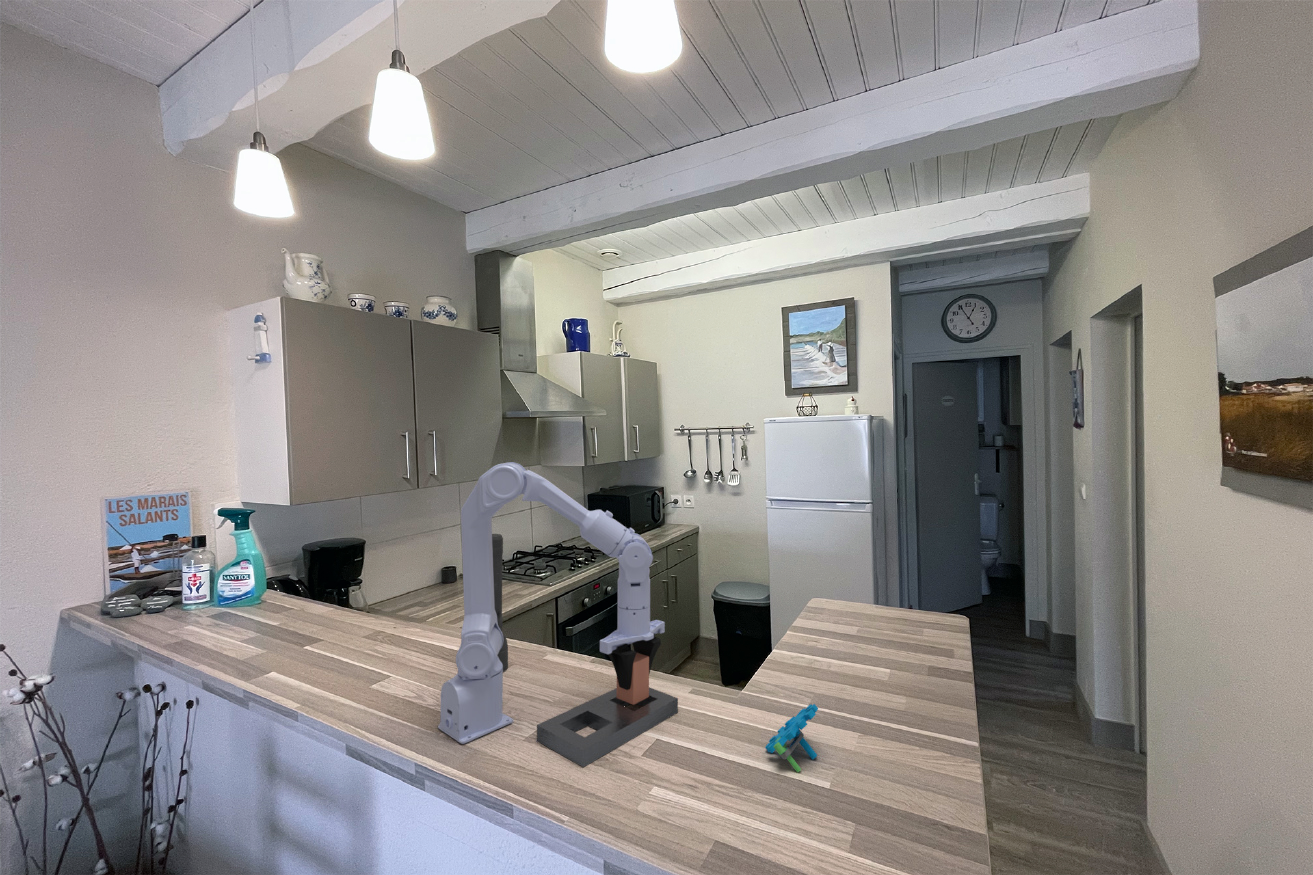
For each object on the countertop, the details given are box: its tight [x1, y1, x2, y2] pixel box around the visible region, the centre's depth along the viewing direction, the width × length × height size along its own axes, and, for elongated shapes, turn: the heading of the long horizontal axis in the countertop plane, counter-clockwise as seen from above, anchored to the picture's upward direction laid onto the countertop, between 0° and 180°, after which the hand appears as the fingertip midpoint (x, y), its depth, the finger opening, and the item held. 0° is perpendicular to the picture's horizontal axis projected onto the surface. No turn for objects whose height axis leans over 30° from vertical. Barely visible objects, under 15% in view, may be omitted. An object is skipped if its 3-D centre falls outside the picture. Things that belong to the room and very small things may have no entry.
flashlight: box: [492, 533, 509, 673], centre depth 115 cm, size 7×28×7 cm
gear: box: [764, 703, 819, 773], centre depth 83 cm, size 11×6×10 cm
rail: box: [536, 686, 679, 768], centre depth 92 cm, size 22×11×2 cm, turn 139°
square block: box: [616, 653, 650, 706], centre depth 96 cm, size 4×4×7 cm
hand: (633, 683), depth 96 cm, fingers closed on square block, 4 cm apart
